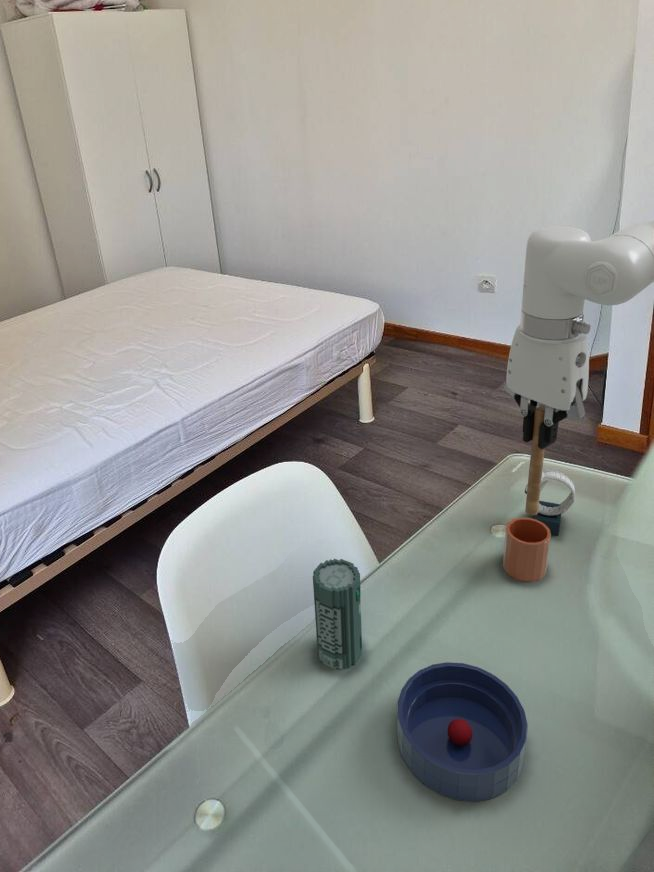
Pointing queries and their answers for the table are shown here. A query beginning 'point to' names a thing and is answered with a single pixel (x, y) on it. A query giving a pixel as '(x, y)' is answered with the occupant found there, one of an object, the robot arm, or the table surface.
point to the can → (338, 613)
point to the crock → (526, 549)
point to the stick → (535, 465)
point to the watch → (552, 511)
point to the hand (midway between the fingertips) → (538, 441)
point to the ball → (459, 732)
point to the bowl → (488, 718)
